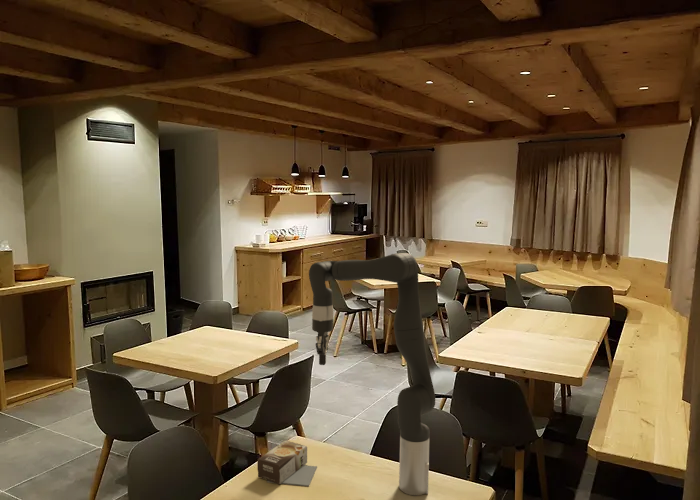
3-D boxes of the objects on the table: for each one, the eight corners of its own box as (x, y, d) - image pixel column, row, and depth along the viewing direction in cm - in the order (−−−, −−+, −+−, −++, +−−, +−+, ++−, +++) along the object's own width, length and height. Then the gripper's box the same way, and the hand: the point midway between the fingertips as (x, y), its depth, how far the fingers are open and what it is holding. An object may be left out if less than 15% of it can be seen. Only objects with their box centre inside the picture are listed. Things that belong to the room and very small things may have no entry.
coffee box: (307, 445, 180) (280, 466, 166) (307, 463, 180) (280, 485, 166) (285, 439, 184) (257, 459, 170) (285, 456, 185) (257, 477, 171)
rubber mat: (317, 467, 178) (316, 466, 178) (308, 486, 167) (308, 485, 167) (277, 463, 180) (277, 462, 180) (266, 482, 169) (266, 481, 169)
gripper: (316, 312, 194) (316, 358, 195) (308, 320, 181) (308, 369, 182) (336, 313, 192) (336, 359, 194) (329, 321, 179) (329, 370, 181)
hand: (322, 364), depth 188 cm, fingers closed
